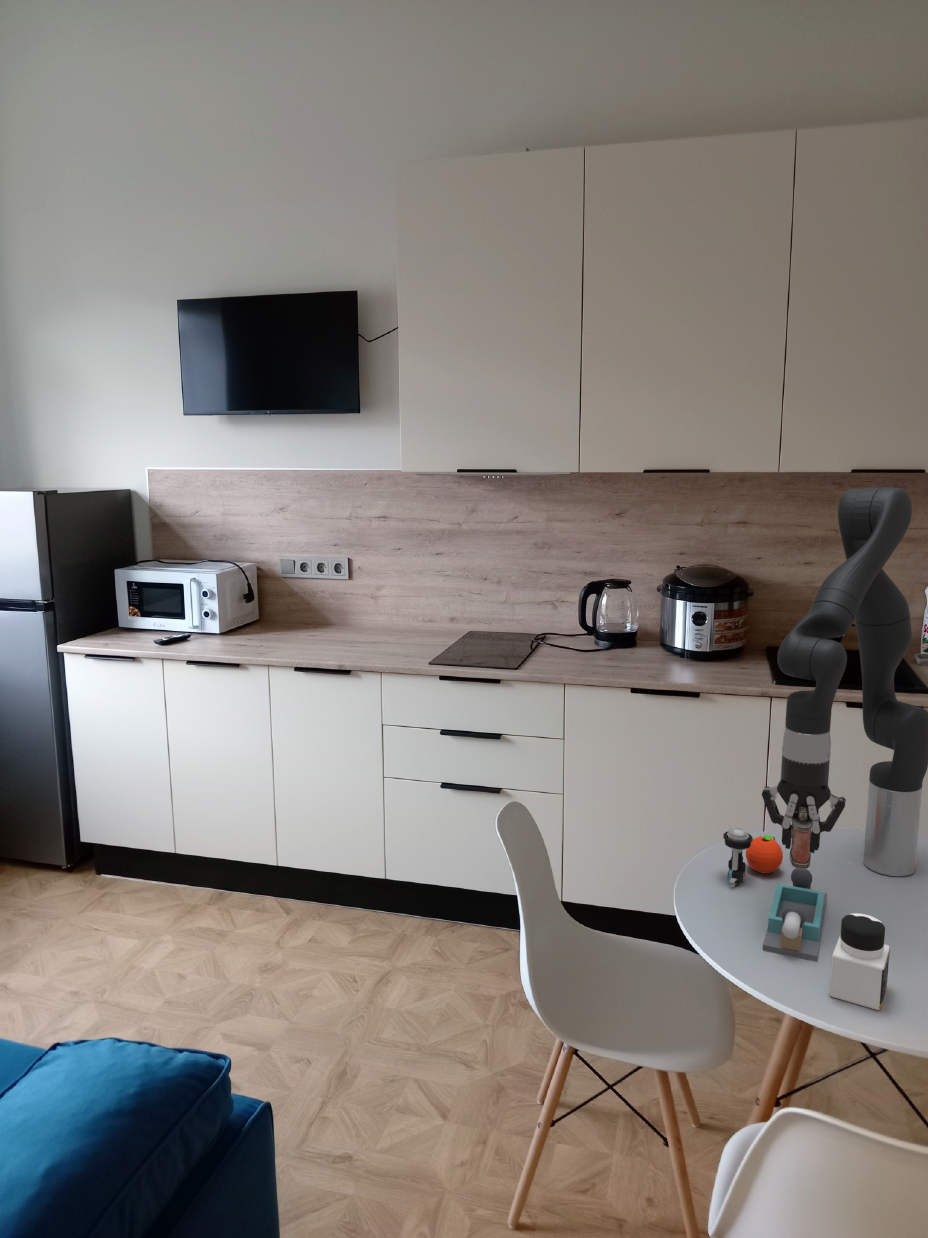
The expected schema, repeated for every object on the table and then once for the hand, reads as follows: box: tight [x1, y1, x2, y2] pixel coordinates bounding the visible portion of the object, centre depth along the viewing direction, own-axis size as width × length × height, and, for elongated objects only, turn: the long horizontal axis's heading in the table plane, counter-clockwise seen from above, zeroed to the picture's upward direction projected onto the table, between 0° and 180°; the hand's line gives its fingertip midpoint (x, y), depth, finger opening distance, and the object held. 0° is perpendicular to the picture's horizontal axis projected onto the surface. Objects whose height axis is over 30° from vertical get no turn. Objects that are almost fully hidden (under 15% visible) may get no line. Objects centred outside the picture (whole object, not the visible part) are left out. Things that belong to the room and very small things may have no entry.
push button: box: [722, 827, 754, 888], centre depth 170 cm, size 7×5×10 cm
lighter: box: [789, 807, 813, 869], centre depth 153 cm, size 8×3×10 cm, turn 161°
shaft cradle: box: [762, 864, 828, 962], centre depth 156 cm, size 24×8×7 cm, turn 155°
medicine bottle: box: [829, 913, 891, 1011], centre depth 136 cm, size 7×7×12 cm
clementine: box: [745, 834, 784, 874], centre depth 175 cm, size 8×7×7 cm
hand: (800, 848), depth 154 cm, fingers closed on lighter, 3 cm apart
